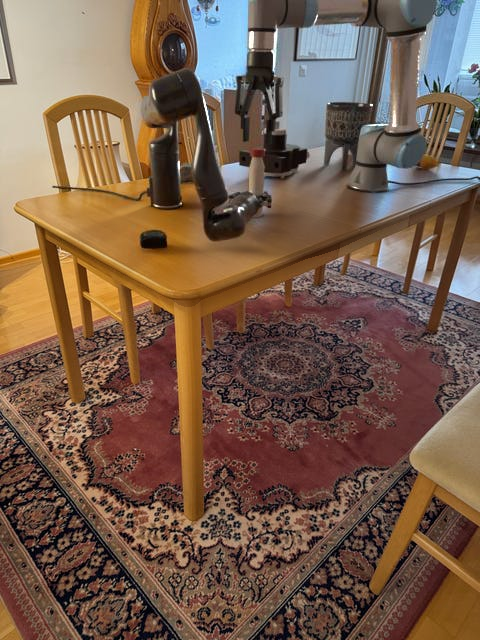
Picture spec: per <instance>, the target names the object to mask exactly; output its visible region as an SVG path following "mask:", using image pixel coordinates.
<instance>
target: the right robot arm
mask: <svg viewBox="0 0 480 640" xmlns="http://www.w3.org/2000/svg"><path fill="white" fill-rule="evenodd" d="M247 5H248V6H247V8H248V9H247V41H246V49H247V50H248V51H247V53H246V71H245V74H242V75H236V77H235V81H236V93H235V102H234V103H235V104H234V114H235V115H238V116H239V117H240V129H241V130H242V143H247V142H249V141H250V121H251V120H250V119H251V117H250V116H249V111H250V109H251V105H252V102H253V100H254V95H255V93H256V92H257V91H262V94H263V97H264V100H265V105H266V110H267V114H268V118H267V119H266V124H265V126H266V127H265V128H266V144H270V143H271V142H272V132H274V131H275V124H276V121H277V119H280V118H282V117H283V115H284V114H283V113H284V112H283V105H284V104H283V86H284V83H285V78H284V77H279V76H276V74H275V72H274V71H275V70H274V69H275V58H276V55H275V52H274V51H275V50H276V41H277V40H276V39H277V29H289V28H298V29H309V28H311V27H316V26H331V25H345V24H350V25H351V26H352V27H355V28H356V27H357V28H358V27H364V28H365V27H366V28H376V29H385V30H386V31H385V38H386V39H387V40H388V41H389V42H390V72H389V73H390V75H389V76H390V78H389V79H390V80H389V116H388V117H389V118H388V123H383V124H382V123H381V124H369V125H364V126H363V127H362V128H361V131H360V136H359V142H358V150H357V158H356V165H355V166H354V167H353V171H351V174H350V176H349V179H348V182H347V187H348V188H349V189H351V190H354V191H358V192H363V193H364V192H365V193H382V192H386V191H388V189H389V184H393V185H400V186H416V185H423V184H424V185H426V184H430V183H435V182H443V181H444V182H446V181H471V180H475V179H478V181H480V176H479V175H477V176H476V175H475V176H472V177H466V178H465V177H463V178H462V177H451V178H449V177H448V178H437V179H430V180H426V181H425V180H424V181H419V182H398V181H393V180H389V178H388V173H387V172H388V171H387V166H391V167H394V168H397V169H404V170H409V169H412V168H413V167H416V166H415V165H417V164H418V163H419V162H420V160H421V159H422V158H423V156H424V155H426V154H425V153H426V151H427V147H428V141H427V138H426V137H425V135H423V133H421V123H419V122H418V121H417V108H418V94H419V93H418V91H419V72H420V58H421V57H420V54H421V40H422V37H423V36H424V35H425V34H426V32H427V27H428V26H427V25H428V24H429V23H431V22H432V20H433V19H434V15H435V14H436V12H437V7H438V0H247ZM246 82H247V84H248V86H247V89H246V95H245V84H246ZM272 83H273V84H274V98H273V94H272V88H271V85H272ZM244 96H245V97H244Z"/></svg>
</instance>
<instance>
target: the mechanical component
mask: <svg viewBox="0 0 480 640" xmlns="http://www.w3.org/2000/svg"><path fill="white" fill-rule="evenodd" d="M287 138H288V129H287V128H286V127H280V121H279V120H276V124H275V131H274V132H272V142H271V143H270V144H266V127H265V128H264V129H263V145H262V146H258V148H264V149H265V155H264V157H262V160H263V164H264V178H267V177H279V178H280V179H285V176H291V175H292V173H298V171H299V167H300V165H303V164H304V165H305V164H307V160H309V158H310V156H311V154H310V152H309V151H308V148H304V147H301V146H299V145H297V144H290V143H287ZM238 154H239V155H238V157H239V159H238V166H240V167H245V168H250V163H251V160H252V157H251V156H250V150H245V149H241V150H239V153H238Z"/></svg>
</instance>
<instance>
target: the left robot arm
mask: <svg viewBox="0 0 480 640" xmlns="http://www.w3.org/2000/svg"><path fill="white" fill-rule="evenodd" d="M140 114H141V119H142V123H144V125H145V126H146V127H147V128H150V129H166V131H165V133H163V134H162V135H161V136H159V137H157V138H154V139H152V140H150V141H149V143H148V152H149V164H150V165H149V166H150V176H149V177H148V185H149V186H148V187H147V188H146V190H145V191H142V192H141V193H139V197H138V198H135V197H131V196H128V195H125V194H122V193H118V192H115V191H112V190H111V191H110V190H106V189H99V188H89V187H76V186H75V187H73V186H62V185H61V186H60V185H52V188H53V189H64V190H75V191H76V190H78V191H90V192H99V193H104V194H105V193H106V194H110V195H115V196H118V197H122V198H125V199H128V200H131V201H135V202H136V201H137V202H138V201H141V199H142V197H143V196H144V195H146V196H147V197H149V198H150V199H149V200H150V207H154V208H156V209H161V210H170V209H171V210H172V209H177V208H180V207H181V206H182V200H183V196H182V191H181V190H182V189H181V183H180V148H179V122H180V121H182V120H184V119H187V118H190V117H193V120H194V124H195V142H194V149H193V155H192V161H191V165H192V169H191V171H192V179H193V182H192V183H193V184H194V187H195V190H196V193H197V195H198V198H199V201H200V206H201V213H202V224H203V225H202V226H203V233H204V235H205V236H206V237H207V238H208V240H209V241H211V242H222V241H227V240H232V239H233V240H235V239H237V238H240V237H241V236H243V235H244V233H245V231H246V224H247V223H248V222H249V221H251V220H252V219H253V218H254V217H253V216H254V215H255V214H256V213H257V211H258V210H259V208H261V207H262V206H263V207H264V206H265V207H266V208H267V209H272V206H273V198H272V194H269V192H268V191H266V190H265V191H263V194H257V195H254V194H252V193H250V192H249V189H248V190H246V191H242V192H241V191H237V192H233V193H231V194H229V191H228V189H227V187H226V183H225V180H224V178H223V174H222V171H221V167H220V164H219V161H218V158H217V153H216V148H215V143H214V137H213V133H212V127H211V122H210V118H209V114H208V109H207V105H206V100H205V96H204V94H203V90H202V86H201V84H200V81H199V79H198V77H197V76H196V74H195V72H194V71H193V70H192V69H191V68H188V67H185V68H181V69H178V70H176V71H173V72H171V73H168V74H165V75H163V76H161V77H158V78H156V79H154V80H152V81H151V82H150V85H149V87H148V94H147V95H145V96H143V98H142V100H141V103H140ZM226 202H228V203H227V205H226V206H225V207H224V208H223V209H222V211H221V212H217V211H216V208H218V207H220V206H221V205H224V204H226Z"/></svg>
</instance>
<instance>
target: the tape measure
mask: <svg viewBox="0 0 480 640" xmlns="http://www.w3.org/2000/svg"><path fill="white" fill-rule="evenodd" d="M167 236H168V235H167V234H166V232H165V231H164V230H161V229H147V230H144V231H143V232H141V233H140V235H139V240H140V241H139V245H140V246H139V247H141V248H142V249H146V250H157V249H167V248H168V240H167V239H168V237H167Z"/></svg>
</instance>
